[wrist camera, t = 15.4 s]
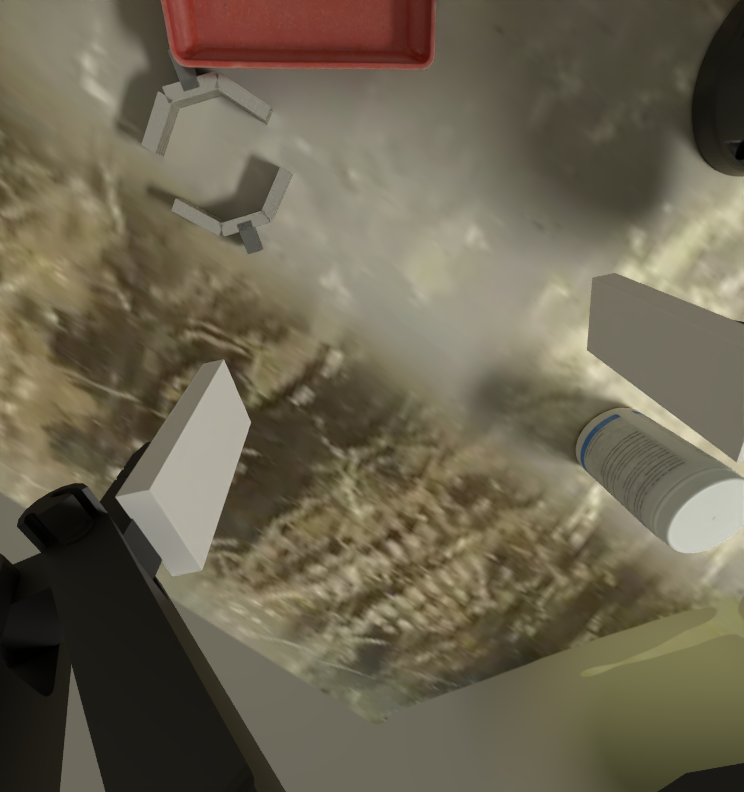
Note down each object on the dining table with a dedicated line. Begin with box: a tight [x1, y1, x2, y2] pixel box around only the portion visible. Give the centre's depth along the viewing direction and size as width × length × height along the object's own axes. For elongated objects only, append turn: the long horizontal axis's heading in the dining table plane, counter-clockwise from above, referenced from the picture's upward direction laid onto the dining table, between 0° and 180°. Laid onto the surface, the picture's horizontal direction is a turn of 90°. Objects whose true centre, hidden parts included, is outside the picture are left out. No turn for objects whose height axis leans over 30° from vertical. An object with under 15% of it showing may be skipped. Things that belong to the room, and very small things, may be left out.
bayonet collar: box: [142, 49, 293, 254], centre depth 32 cm, size 10×14×2 cm
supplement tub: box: [576, 408, 744, 553], centre depth 45 cm, size 10×10×15 cm
